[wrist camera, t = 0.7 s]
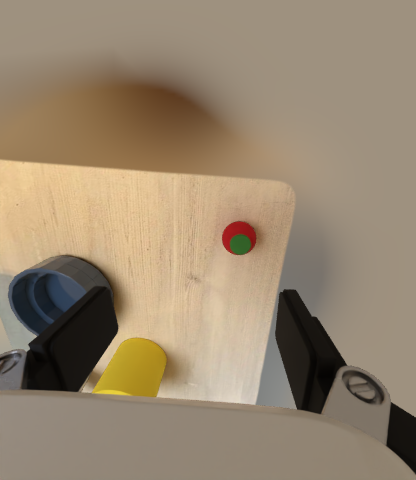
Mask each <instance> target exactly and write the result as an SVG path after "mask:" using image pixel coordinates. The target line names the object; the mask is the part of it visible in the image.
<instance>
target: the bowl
mask: <svg viewBox="0 0 416 480" xmlns="http://www.w3.org/2000/svg"><path fill="white" fill-rule="evenodd" d="M94 286H106V287H107V288H108V289H109V290H110V292H111V297H112V301H113V305H114V300H113V293H112V290H111V287H110V285H109V283H108V281H107V280H106V279H105V277H104V276H103V275H102V273H101V272H100V271H98V270H97V269H96V268H94V267H93V266H92V265H91V264H89V263H87V262H85V261H82V260H80V259H78V258H75V257H69V256H57V257H50V258H48V259H46V260H44V261H42V262H40V263H38V264H36V265H35V266H33V267H31V268H29V269H27V270H25V271H23V272H21V273H20V274H18V275H16V276H15V277H14V279H13V280H12V282H11V283H10V285H9V292H8V298H9V302H10V306H11V309H12V311H13V312H14V314H15V316H16V317H17V319H18V320H19V321H20V322H21V323H22V324H23V325H24V326H25V327H26V328H27V329H28V330H29V331H30V332H32V333H33V334H35V335H36V336H38V335H39V334H40V333H42V332H43V331H44V330H45V329H46V328H47V327H48V326H50V325H51V324H52V323H53V322H54V321H55V320H56V319H57V318H59V317H60V316H61V315H62V314H63V313H64V312H65V311H67V310H68V309H69V308H70V307H71V306H72V305H73V304H74V303H76V302H77V301H78V300H79V299H80V298H81V297H82V296H84V295H85V294H86V293H87V292H88V291H89V290H90V289H91V288H93V287H94Z"/></svg>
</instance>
